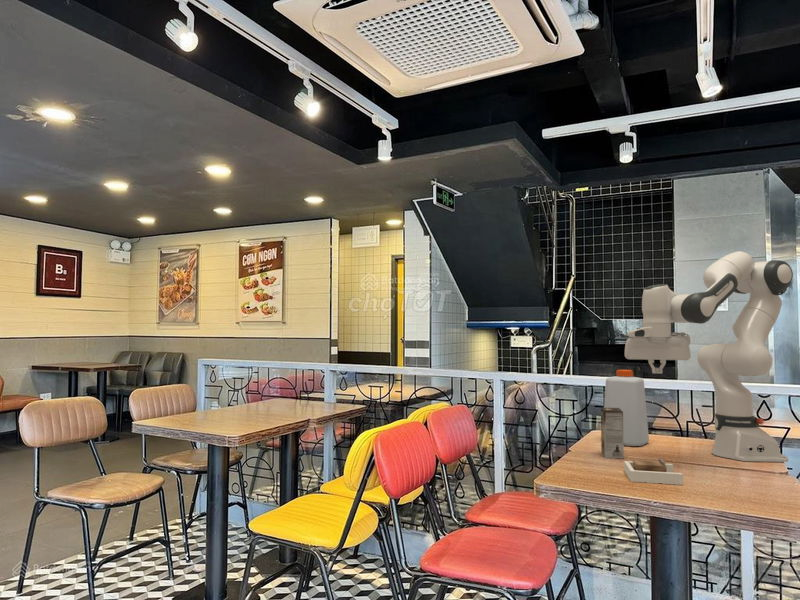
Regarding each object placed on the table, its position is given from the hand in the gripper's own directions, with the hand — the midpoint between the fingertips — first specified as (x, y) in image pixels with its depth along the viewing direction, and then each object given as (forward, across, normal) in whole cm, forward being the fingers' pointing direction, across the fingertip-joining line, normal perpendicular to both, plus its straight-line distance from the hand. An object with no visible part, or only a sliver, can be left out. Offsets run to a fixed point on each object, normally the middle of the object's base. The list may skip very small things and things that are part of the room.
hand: (657, 373), depth 191 cm
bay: (+29, +6, +24) cm, 38 cm away
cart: (+29, +7, +24) cm, 38 cm away
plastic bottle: (+29, +6, -30) cm, 42 cm away
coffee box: (+29, +14, -4) cm, 33 cm away
